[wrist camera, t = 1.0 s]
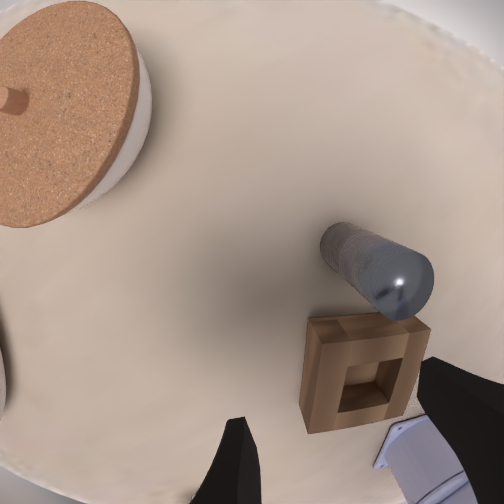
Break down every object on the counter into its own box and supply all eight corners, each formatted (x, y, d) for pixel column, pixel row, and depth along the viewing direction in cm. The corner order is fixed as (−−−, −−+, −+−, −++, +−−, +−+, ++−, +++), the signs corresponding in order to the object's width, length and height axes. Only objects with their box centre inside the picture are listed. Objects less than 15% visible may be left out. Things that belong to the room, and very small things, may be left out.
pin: (364, 222, 19) (438, 251, 11) (360, 267, 19) (427, 316, 11) (321, 222, 18) (380, 252, 11) (318, 268, 19) (370, 324, 11)
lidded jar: (146, 226, 18) (74, 269, 9) (20, 192, 16) (-75, 209, 7) (194, 62, 15) (167, -25, 6) (59, 52, 14) (-17, 4, 5)
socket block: (406, 309, 20) (431, 329, 17) (386, 390, 22) (402, 415, 19) (308, 318, 20) (321, 343, 16) (298, 404, 22) (308, 434, 18)
